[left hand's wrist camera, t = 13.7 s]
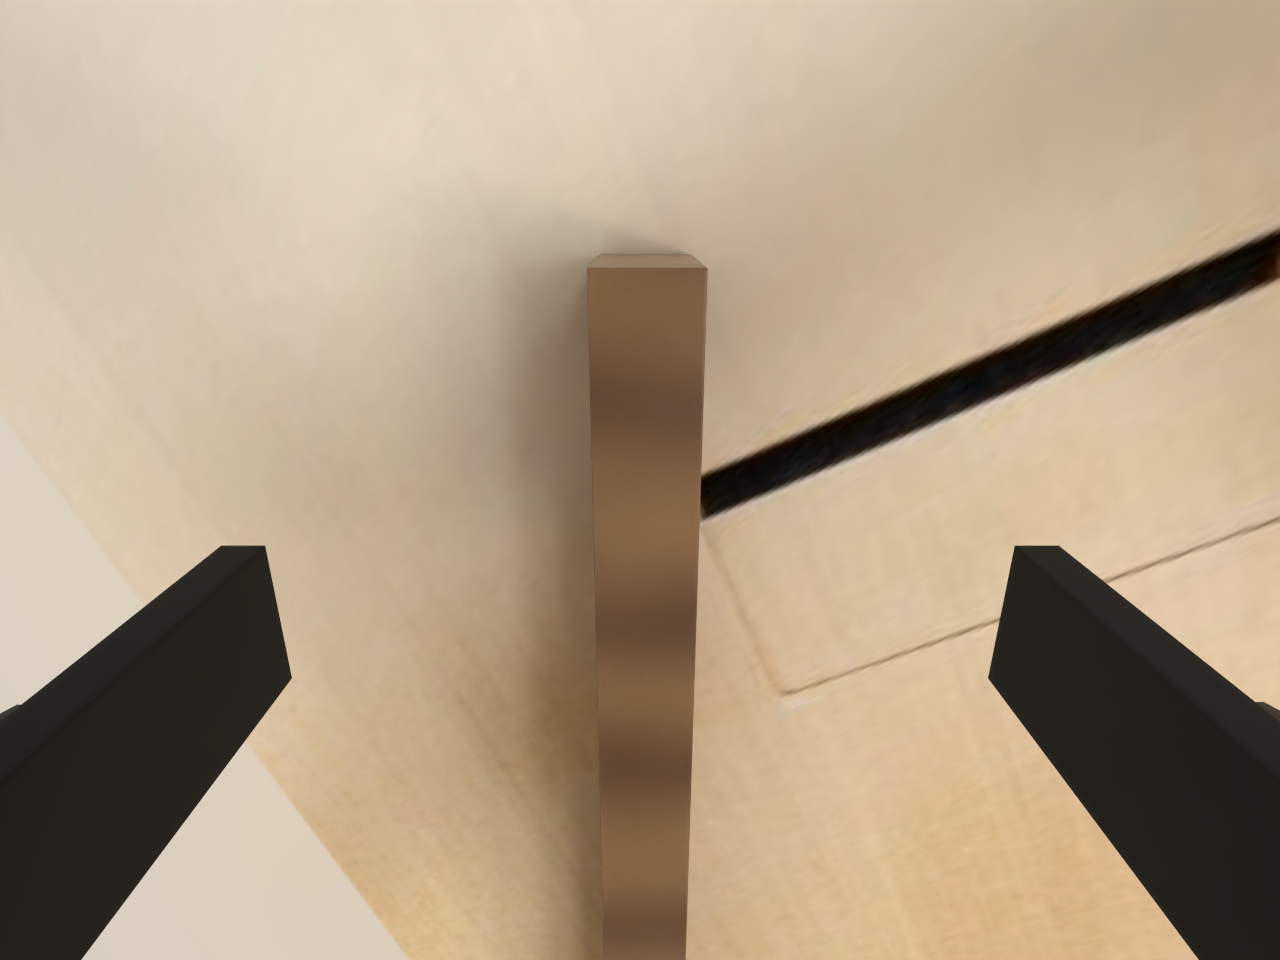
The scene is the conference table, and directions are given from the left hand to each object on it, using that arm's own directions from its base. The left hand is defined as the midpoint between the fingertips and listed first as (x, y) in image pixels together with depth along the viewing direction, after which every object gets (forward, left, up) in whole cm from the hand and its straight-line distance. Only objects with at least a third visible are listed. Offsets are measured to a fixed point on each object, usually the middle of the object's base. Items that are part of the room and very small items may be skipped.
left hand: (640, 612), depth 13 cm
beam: (+29, +6, -25) cm, 39 cm away
